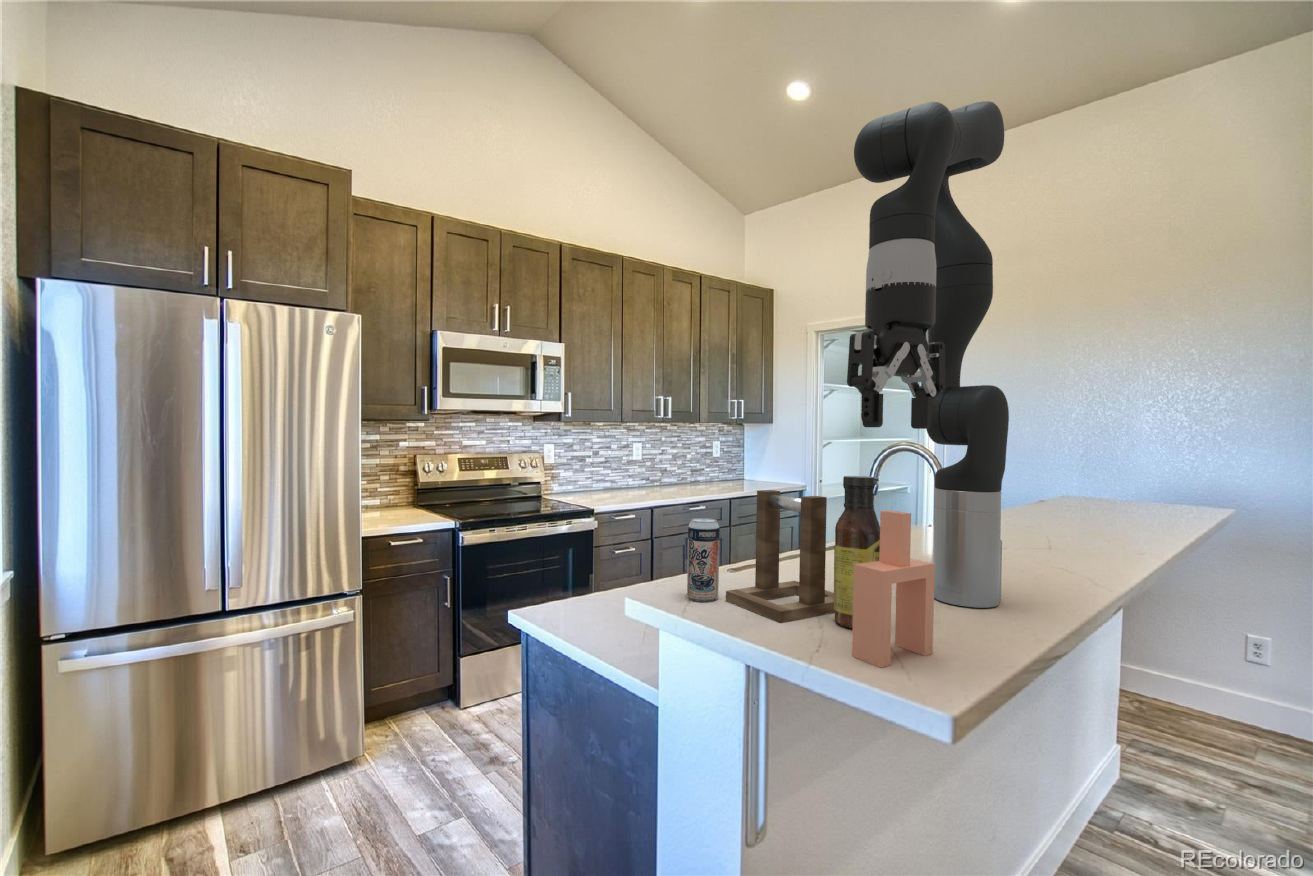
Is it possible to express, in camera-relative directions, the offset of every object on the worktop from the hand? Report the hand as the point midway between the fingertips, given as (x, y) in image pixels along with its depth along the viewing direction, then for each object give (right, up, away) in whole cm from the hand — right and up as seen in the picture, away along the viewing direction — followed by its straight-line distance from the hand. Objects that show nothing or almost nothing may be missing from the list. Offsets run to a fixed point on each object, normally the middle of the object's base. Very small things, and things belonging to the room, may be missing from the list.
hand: (897, 428), depth 69 cm
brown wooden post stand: (-8, -26, +20) cm, 34 cm away
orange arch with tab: (0, -26, 0) cm, 26 cm away
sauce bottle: (-1, -26, +11) cm, 29 cm away
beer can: (-21, -26, +23) cm, 40 cm away
